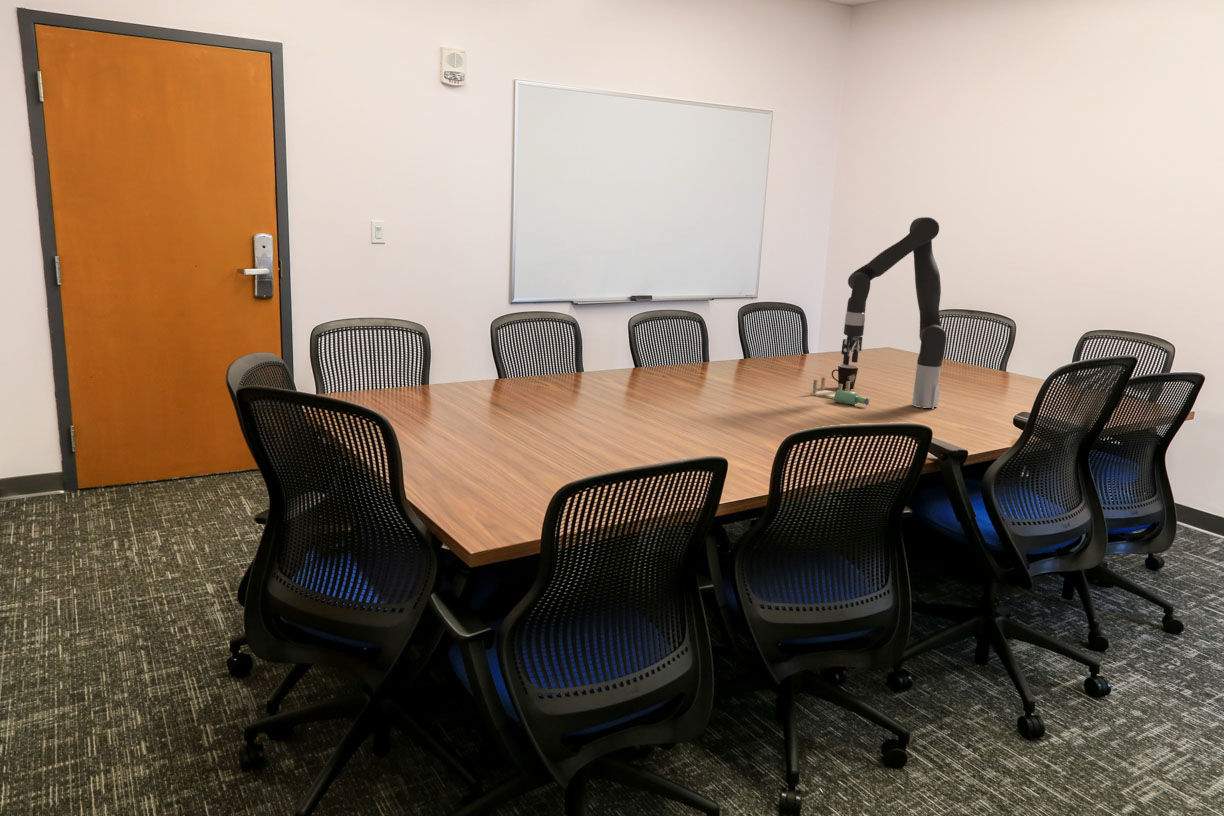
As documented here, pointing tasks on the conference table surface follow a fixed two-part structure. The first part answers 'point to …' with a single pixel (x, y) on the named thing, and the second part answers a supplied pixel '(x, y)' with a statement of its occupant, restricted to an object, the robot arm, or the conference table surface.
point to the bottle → (849, 398)
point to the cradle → (824, 392)
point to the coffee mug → (846, 375)
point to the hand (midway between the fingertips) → (850, 363)
